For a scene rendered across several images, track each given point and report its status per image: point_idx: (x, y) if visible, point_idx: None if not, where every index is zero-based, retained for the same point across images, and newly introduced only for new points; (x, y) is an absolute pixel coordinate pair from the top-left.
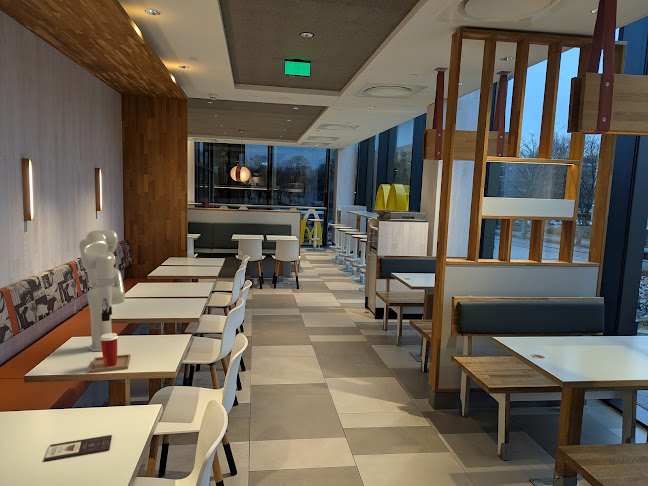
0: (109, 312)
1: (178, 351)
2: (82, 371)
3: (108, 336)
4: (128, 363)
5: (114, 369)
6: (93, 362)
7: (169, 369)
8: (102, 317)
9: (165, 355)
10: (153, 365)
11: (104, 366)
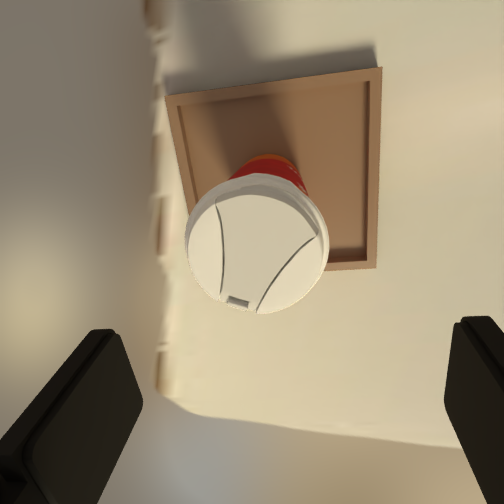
0: (462, 419)
1: (377, 428)
2: (199, 44)
3: (219, 261)
4: None
5: None
6: (288, 86)
7: (180, 403)
8: (64, 377)
9: (342, 390)
10: (230, 357)
11: (243, 160)
